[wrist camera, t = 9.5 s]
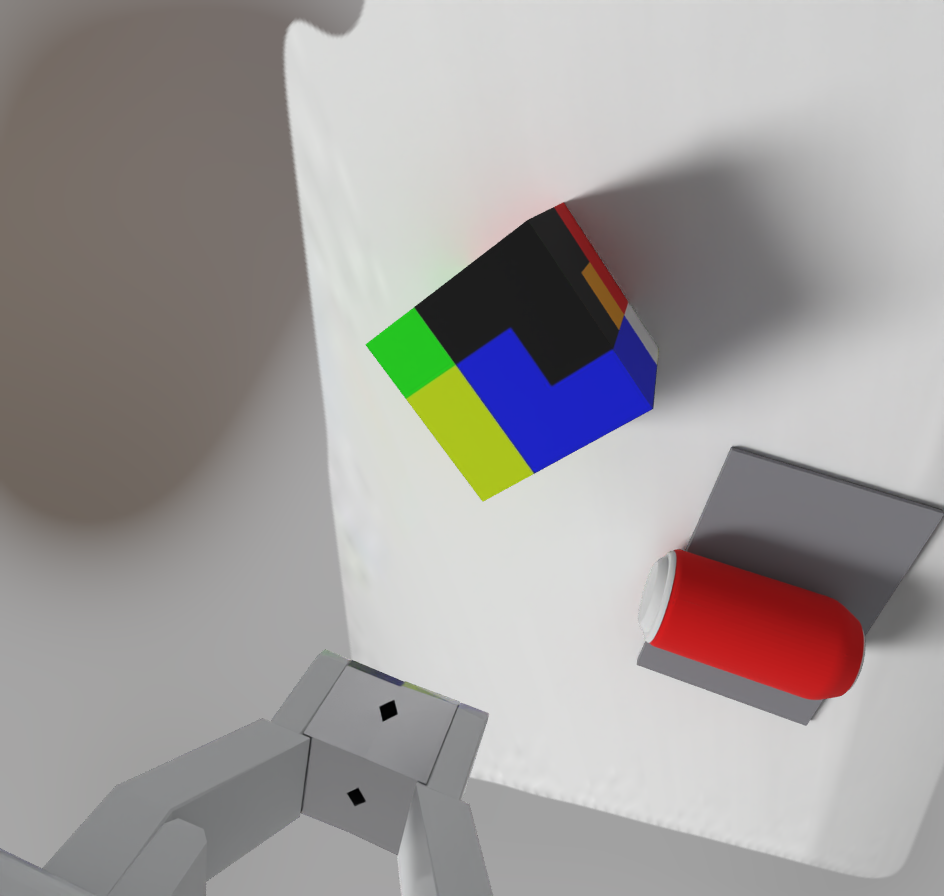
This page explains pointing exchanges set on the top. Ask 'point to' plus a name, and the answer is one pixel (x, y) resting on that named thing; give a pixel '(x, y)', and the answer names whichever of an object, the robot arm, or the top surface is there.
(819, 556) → the mat
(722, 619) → the beverage can
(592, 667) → the top surface
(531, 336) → the puzzle toy
